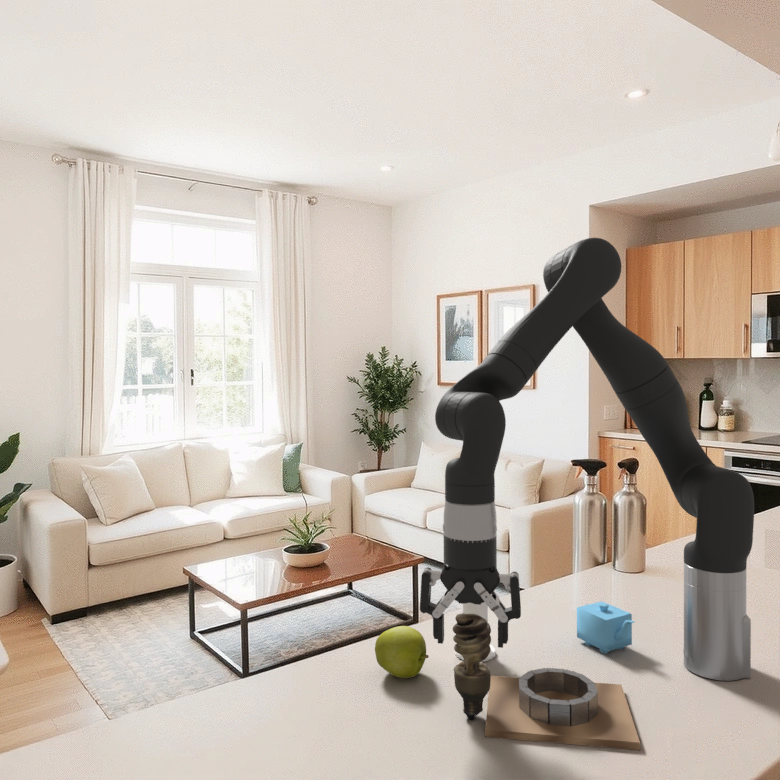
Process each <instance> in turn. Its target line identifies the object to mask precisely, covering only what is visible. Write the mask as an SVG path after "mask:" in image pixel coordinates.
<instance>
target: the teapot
mask: <svg viewBox="0 0 780 780" xmlns="http://www.w3.org/2000/svg"><path fill="white" fill-rule="evenodd" d="M632 614H633V613H631V612H629V611H626V610H624V609H621V608H619V607H617V606H614V605H612V604H609V603H607V602H604V601H601V600H600V601H597V602H594V603H589V604H584V605H582V606H577V607H576V637H577V638H578V639H580V640H581V641H584V645H585V646H588V647H592V646H594V647H596V648H598V649H599V652H600V653H601V654H609V652H610V651H615V650H617V649H618V650H623V649H624V647H628V646H632V644H633V631H632V630H633V629H632V628H633V627H632V626H633V624H634V623H636V622H635V621H634V620H633V615H632Z"/></svg>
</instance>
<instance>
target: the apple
mask: <svg viewBox="0 0 780 780" xmlns="http://www.w3.org/2000/svg"><path fill="white" fill-rule="evenodd" d="M374 645H375V646H374V652H375V658H376V662H377V663H378V664H377V665H379V666H380V667H381V668H382V669H384V670H385V671H386V672H387V673H389V674H390V675H392V676H393V677H396V678H400V679H410V678H414V677H415V676H417V675H418V674H419V673H420V672H421V670H422V669H423V666H424V664H425V661H426V659H428V658H429V657H430V656H429V655H428V654H427V644H426V641H425V638H424V636H423V634H422V633H421V632H420V631H419V630H417V629H416V628H414V627H412V626H408V625H399V626H394V627H391V628H389V629H387V630H385V631H383V632H382V633H380V635H379V636H378V637H377V638H376V641H375V644H374Z"/></svg>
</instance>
